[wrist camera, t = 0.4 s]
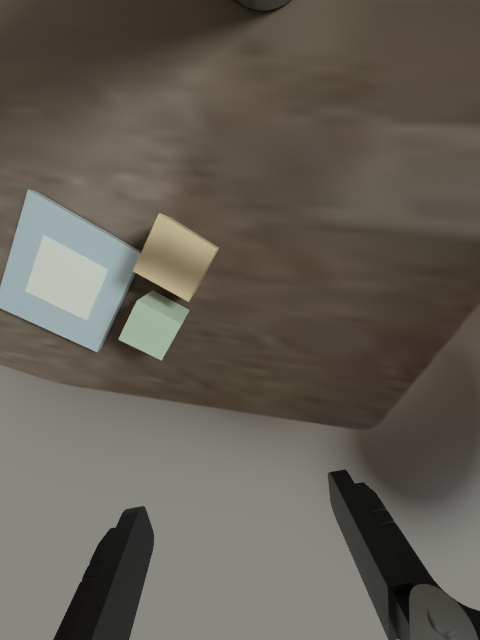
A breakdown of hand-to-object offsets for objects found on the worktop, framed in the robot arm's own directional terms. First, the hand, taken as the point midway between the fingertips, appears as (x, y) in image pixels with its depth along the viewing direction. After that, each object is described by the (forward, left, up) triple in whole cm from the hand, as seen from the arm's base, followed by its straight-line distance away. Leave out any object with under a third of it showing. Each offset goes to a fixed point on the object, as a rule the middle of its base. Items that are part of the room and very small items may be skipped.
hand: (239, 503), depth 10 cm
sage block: (+3, -8, -21) cm, 23 cm away
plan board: (+4, -19, -21) cm, 29 cm away
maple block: (-5, -9, -21) cm, 24 cm away
